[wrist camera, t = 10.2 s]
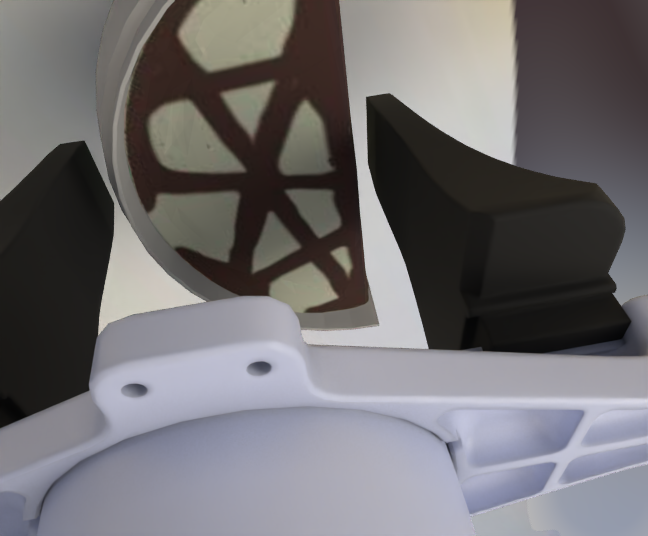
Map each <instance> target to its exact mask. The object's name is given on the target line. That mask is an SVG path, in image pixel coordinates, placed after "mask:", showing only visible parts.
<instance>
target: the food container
mask: <svg viewBox="0 0 648 536" xmlns="http://www.w3.org/2000/svg"><path fill="white" fill-rule="evenodd" d="M96 111H97V118H98V124H99V130H100V136H101V142H102V147H103V152H104V157H105V162H106V167H107V172H108V177H109V180H110V183H111V185H112V188H113V190H114V193H115V195H116V197H117V200H118V202H119V205H120V207H121V210H122V211H123V213H124V215H125V216H126V218H127V219H128V221H129V222H130V224H131V227H132V228H133V230H134V231H135V233H136V234H137V236H138V238H139V239H140V241H141V242H142V244H143V245H144V247H145V248H146V250H147V252H148V253H149V254H150V255H151V256H152V257H153V258H154V259H155V261H156V262H157V263H158V264H159V265H160V266H161V267H162V268H163V269H164V270H165V271H166V273H167V274H168V275H169V276H171V277H172V278H173V279H175V280H176V281H177V282H178V283H180V284H181V285H182V286H183V287H185V288H186V289H187V290H188V291H190V292H191V293H193V294H194V295H196V296H198V297H200V298H201V299H203V300H205V301H206V302H210V301H216V300H221V299H227V298H233V297H239V296H269V297H271V298H274V299H276V300H279V301H281V302H283V303H286V304H288V305H290V307H291V308H292V310H293V311H294V313H295V314H296V316H297V317H298V319H299V324H300V329H301V330H315V331H334V330H351V329H360V328H366V327H373V326H379V321H378V317H377V314H376V310H375V306H374V302H373V298H372V295H371V291H370V287H369V283H368V279H367V276H366V271H365V261H364V250H363V239H362V229H361V219H360V207H359V194H358V180H357V168H356V159H355V151H354V142H353V134H352V125H351V117H350V107H349V97H348V86H347V76H346V66H345V56H344V46H343V36H342V26H341V16H340V6H339V0H113V3H112V6H111V9H110V11H109V14H108V17H107V20H106V22H105V25H104V28H103V31H102V37H101V43H100V49H99V55H98V61H97V67H96Z"/></svg>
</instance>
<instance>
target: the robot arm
mask: <svg viewBox="0 0 648 536" xmlns="http://www.w3.org/2000/svg"><path fill="white" fill-rule="evenodd" d="M366 109H367V146H368V165H369V169H370V173H371V177H372V180H373V184H374V188H375V191H376V194H377V197H378V199H379V202H380V204H381V206H382V209H383V211H384V213H385V216H386V218H387V220H388V223H389V225H390V227H391V230H392V232H393V234H394V237H395V239H396V242H397V244H398V246H399V249H400V251H401V253H402V256H403V259H404V261H405V264H406V267H407V271H408V274H409V278H410V281H411V284H412V288H413V291H414V295H415V298H416V302H417V306H418V309H419V313H420V317H421V320H422V324H423V328H424V332H425V336H426V340H427V344H428V347H429V349H411V348H385V347H359V346H333V345H309V344H306V343H305V342H304V339H303V337H302V334H301V329H300V324H299V319H298V317H297V316H296V314H295V313H294V311H293V310H292V308H291V307H290V305H288V304H286V303H283V302H281V301H279V300H276V299H274V298H271V297H269V296H239V297H233V298H227V299H221V300H216V301H210V302H204V303H198V304H192V305H186V306H180V307H174V308H168V309H162V310H157V311H151V312H145V313H139V314H133V315H130V316H128V317H125V318H122V319H120V320H117V321H114V322H112V323H109V324H108V325H107V326H106V327H105V328H104V330H103V331H102V332H101V333H100V334H99V336H98V326H99V314H100V307H101V300H102V295H103V290H104V285H105V280H106V274H107V269H108V264H109V259H110V253H111V248H112V242H113V236H114V202H113V200H112V198H111V196H110V194H109V191H108V189H107V187H106V185H105V183H104V181H103V179H102V177H101V175H100V172H99V170H98V168H97V166H96V164H95V162H94V160H93V158H92V155H91V153H90V151H89V149H88V147H87V145H86V143H85V141H77V142H71V143H64V144H60V145H58V146H57V147H56V148H55V149H53V150H52V151H51V152H50V153H49V154H48V155H47V156H46V157H45V158H44V159H43V160H42V161H41V162H40V163H39V164H38V165H37V166H36V167H35V168H34V169H33V170H32V171H31V172H30V173H29V174H28V175H27V176H26V177H25V178H24V179H23V180H22V181H21V182H20V183H19V184H18V185H17V186H16V187H15V188H14V189H13V190H12V191H11V192H10V193H9V194H8V195H6V196H5V197H4V198H3V199H2V200H1V201H0V536H477V535H476V532H475V529H474V526H473V523H472V520H471V517H472V516H475V515H479V514H482V513H485V512H488V511H492V510H495V509H498V508H501V507H504V506H508V505H511V504H514V503H517V502H521V501H524V500H527V499H530V498H534V497H537V496H540V495H543V494H546V493H550V492H553V491H556V490H559V489H562V488H565V487H569V486H572V485H575V484H579V483H581V482H585V481H588V480H592V479H595V478H599V477H602V476H606V475H609V474H612V473H616V472H619V471H623V470H626V469H630V468H634V467H638V466H642V465H646V464H648V295H644V296H639V297H636V298H632V299H630V300H629V301H627V302H625V303H624V304H623V305H622V306H621V305H620V304H619V302H618V301H617V300H616V298H615V297H614V295H613V294H612V293H614V292H615V291H616V284H615V282H614V281H613V280H612V278H611V277H610V275H609V274H608V272H609V270H610V268H611V265H612V263H613V261H614V259H615V256H616V254H617V252H618V250H619V247H620V245H621V243H622V240H623V237H624V233H625V220H624V217H623V216H622V214H621V213H620V211H619V210H618V208H617V207H616V206H615V205H614V203H613V202H612V201H611V200H610V198H609V197H608V196H607V195H606V194H605V193H604V192H603V190H602V189H601V188H600V187H599V186H598V185H597V184H595V183H590V182H583V181H577V180H571V179H565V178H559V177H555V176H550V175H546V174H542V173H538V172H534V171H530V170H527V169H524V168H520V167H517V166H514V165H511V164H509V163H506V162H503V161H500V160H497V159H495V158H492V157H490V156H488V155H485V154H483V153H481V152H479V151H477V150H475V149H473V148H470V147H468V146H466V145H464V144H463V143H461V142H459V141H457V140H456V139H454V138H452V137H450V136H449V135H447V134H445V133H444V132H442V131H441V130H439V129H438V128H436V127H435V126H433V125H432V124H430V123H429V122H427V121H426V120H424V119H423V118H422V117H420V116H419V115H418V114H416V113H415V112H414V111H412V110H411V109H410V108H408V107H407V106H406V105H404V104H403V103H402V102H401V101H399V100H398V99H397V98H395V97H394V96H393V95H391V94H390V93H388V94H382V95H375V96H369V97H366Z"/></svg>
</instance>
